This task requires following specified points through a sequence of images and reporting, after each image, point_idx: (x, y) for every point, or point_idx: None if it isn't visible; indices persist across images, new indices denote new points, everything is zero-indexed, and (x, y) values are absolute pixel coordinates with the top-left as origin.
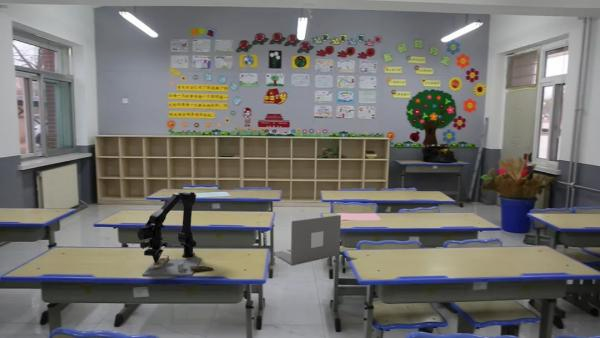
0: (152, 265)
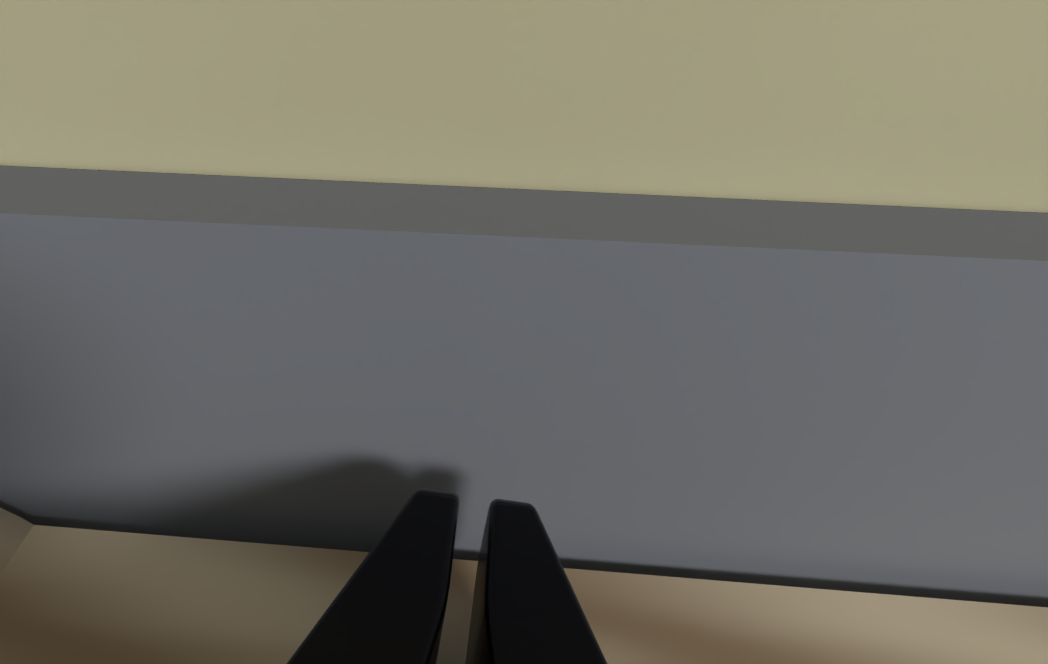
0: (302, 336)
